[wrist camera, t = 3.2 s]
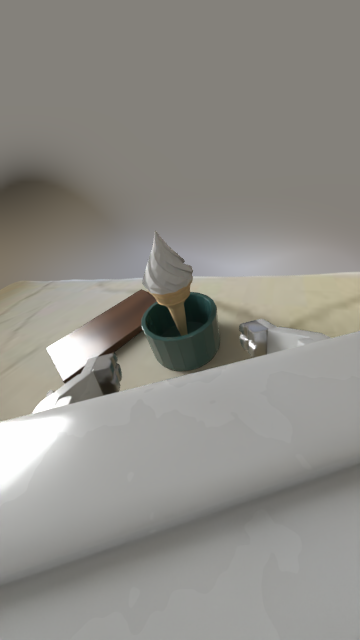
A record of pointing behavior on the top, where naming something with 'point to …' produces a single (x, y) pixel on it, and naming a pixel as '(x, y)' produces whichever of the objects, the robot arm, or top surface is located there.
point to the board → (100, 335)
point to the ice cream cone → (168, 280)
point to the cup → (186, 348)
